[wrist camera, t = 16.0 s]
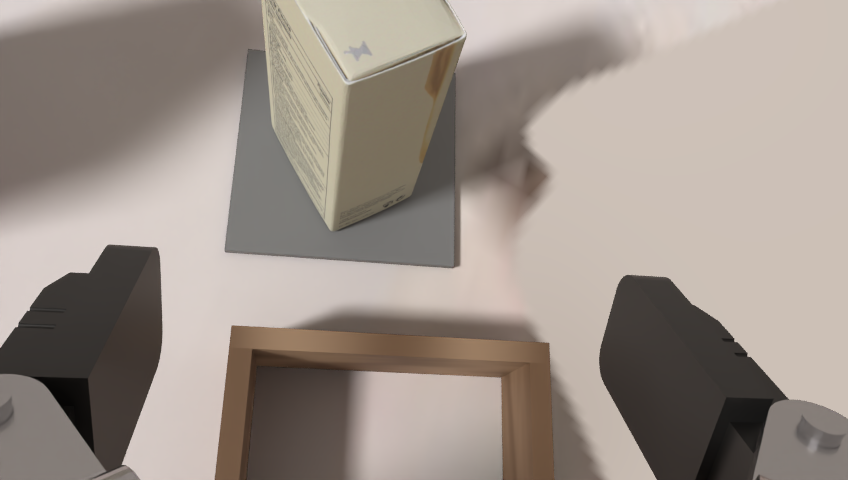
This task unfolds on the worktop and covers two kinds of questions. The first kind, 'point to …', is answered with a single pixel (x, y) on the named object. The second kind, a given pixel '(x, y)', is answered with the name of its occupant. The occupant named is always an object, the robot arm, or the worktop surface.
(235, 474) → the walnut box
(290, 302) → the worktop surface
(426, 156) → the rubber mat
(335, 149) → the skincare box
